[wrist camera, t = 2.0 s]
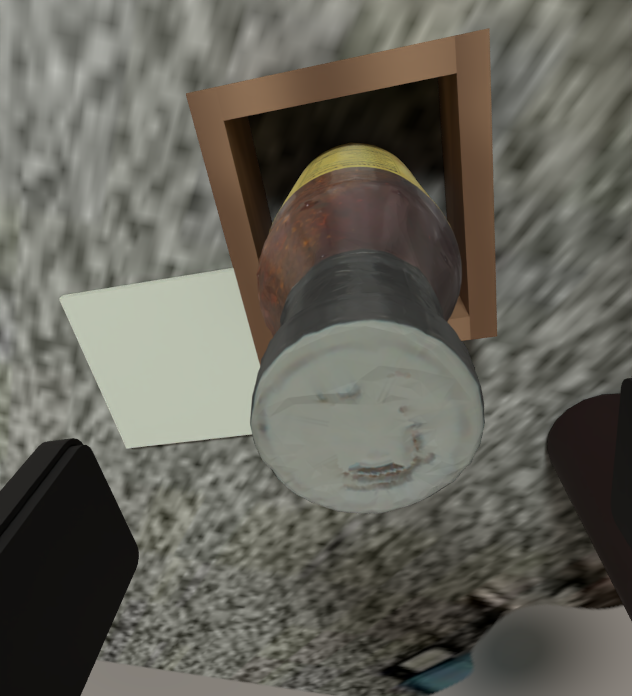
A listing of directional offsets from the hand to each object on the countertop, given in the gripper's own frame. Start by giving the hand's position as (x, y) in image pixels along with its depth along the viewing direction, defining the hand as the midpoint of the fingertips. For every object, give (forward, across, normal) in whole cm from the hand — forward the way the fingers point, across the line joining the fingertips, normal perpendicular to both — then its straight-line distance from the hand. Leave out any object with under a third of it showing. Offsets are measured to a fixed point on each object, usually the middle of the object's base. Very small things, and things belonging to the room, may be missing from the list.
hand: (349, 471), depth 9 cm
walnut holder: (+20, 0, -1) cm, 20 cm away
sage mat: (+20, +12, +7) cm, 24 cm away
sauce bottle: (+20, 0, -1) cm, 20 cm away
